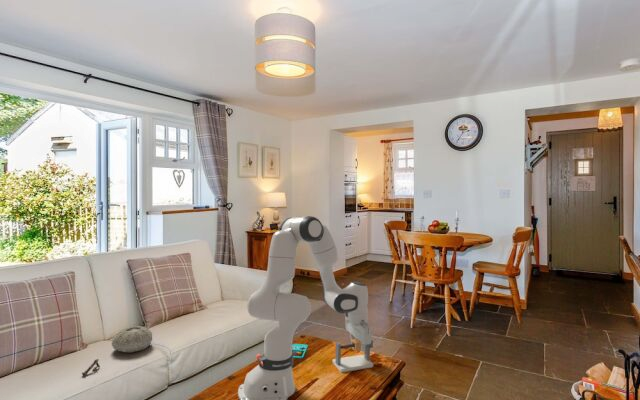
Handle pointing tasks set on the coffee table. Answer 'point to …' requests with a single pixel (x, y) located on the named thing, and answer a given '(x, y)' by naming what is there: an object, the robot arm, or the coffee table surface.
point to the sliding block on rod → (352, 359)
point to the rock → (132, 339)
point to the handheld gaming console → (299, 349)
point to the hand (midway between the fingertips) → (357, 346)
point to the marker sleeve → (356, 344)
